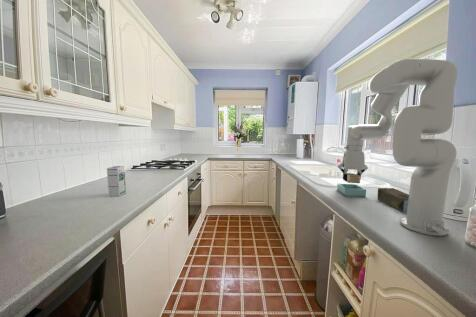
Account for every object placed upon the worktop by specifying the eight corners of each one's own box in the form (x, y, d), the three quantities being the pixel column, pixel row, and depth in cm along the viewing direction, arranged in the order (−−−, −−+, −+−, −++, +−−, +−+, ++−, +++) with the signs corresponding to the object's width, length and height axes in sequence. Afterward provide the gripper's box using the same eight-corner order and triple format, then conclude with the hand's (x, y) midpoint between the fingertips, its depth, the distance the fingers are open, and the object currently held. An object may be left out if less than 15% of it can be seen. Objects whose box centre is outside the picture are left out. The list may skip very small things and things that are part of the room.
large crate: (365, 196, 111) (366, 189, 110) (344, 195, 112) (345, 188, 111) (356, 190, 122) (356, 184, 122) (337, 190, 123) (337, 183, 123)
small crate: (359, 183, 113) (360, 175, 112) (348, 182, 113) (348, 175, 113) (354, 180, 119) (354, 173, 119) (343, 179, 120) (343, 172, 120)
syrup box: (119, 196, 105) (118, 167, 103) (108, 196, 105) (106, 167, 103) (126, 193, 111) (124, 166, 109) (115, 192, 111) (113, 165, 109)
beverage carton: (402, 213, 89) (404, 198, 88) (376, 199, 108) (377, 186, 107) (422, 214, 88) (424, 198, 88) (392, 199, 107) (393, 187, 107)
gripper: (340, 148, 111) (337, 181, 114) (374, 149, 109) (371, 183, 112) (335, 147, 119) (332, 178, 121) (367, 148, 117) (364, 179, 119)
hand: (351, 180), depth 116 cm, fingers closed on small crate, 6 cm apart
